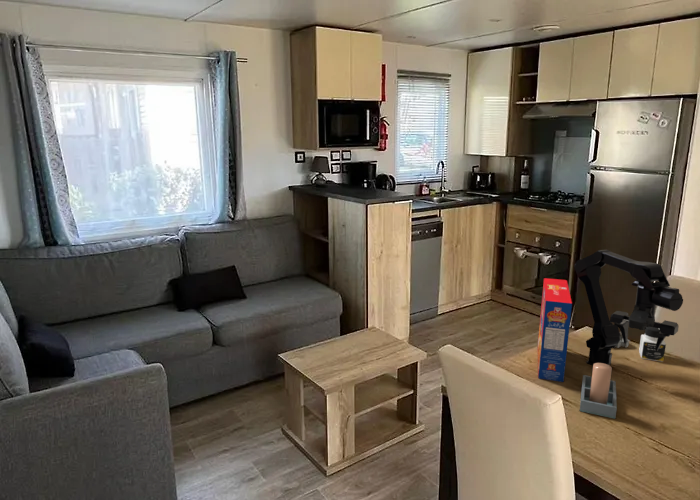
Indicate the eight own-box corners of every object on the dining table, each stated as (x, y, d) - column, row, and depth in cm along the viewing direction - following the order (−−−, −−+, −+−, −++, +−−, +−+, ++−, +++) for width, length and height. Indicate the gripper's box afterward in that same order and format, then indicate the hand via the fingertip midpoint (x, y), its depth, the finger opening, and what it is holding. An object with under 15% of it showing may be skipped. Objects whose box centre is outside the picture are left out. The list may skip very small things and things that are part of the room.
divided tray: (581, 384, 169) (583, 374, 168) (614, 390, 165) (615, 381, 164) (579, 410, 153) (580, 400, 152) (615, 418, 149) (616, 408, 148)
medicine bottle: (641, 358, 188) (645, 328, 186) (638, 351, 195) (642, 322, 192) (663, 362, 186) (668, 331, 183) (660, 354, 192) (664, 324, 189)
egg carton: (620, 340, 205) (622, 331, 204) (631, 348, 198) (633, 338, 197) (595, 341, 205) (596, 331, 204) (604, 348, 198) (606, 338, 197)
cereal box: (537, 346, 199) (544, 278, 193) (559, 349, 196) (566, 280, 190) (538, 378, 173) (545, 300, 167) (563, 382, 171) (572, 303, 164)
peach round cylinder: (584, 403, 156) (589, 364, 153) (596, 400, 158) (601, 361, 155) (598, 411, 152) (603, 371, 149) (610, 407, 154) (615, 368, 151)
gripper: (606, 301, 165) (602, 346, 168) (672, 314, 152) (666, 362, 155) (618, 294, 173) (613, 337, 176) (681, 305, 160) (675, 352, 163)
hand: (640, 347), depth 167 cm, fingers open, 9 cm apart
